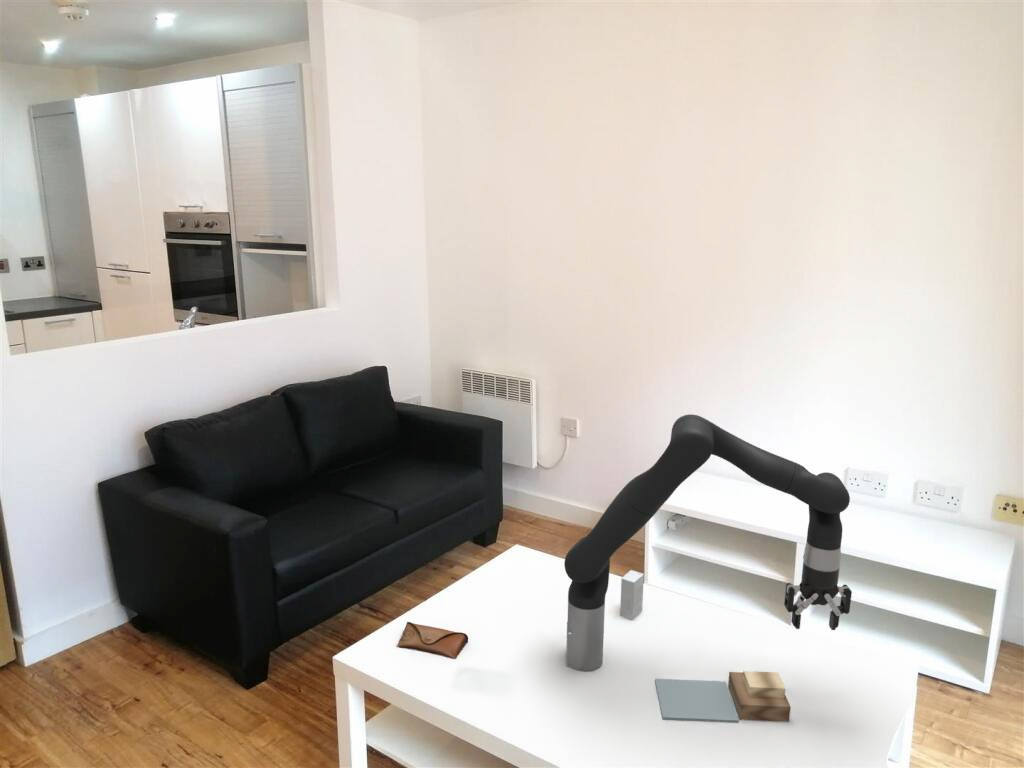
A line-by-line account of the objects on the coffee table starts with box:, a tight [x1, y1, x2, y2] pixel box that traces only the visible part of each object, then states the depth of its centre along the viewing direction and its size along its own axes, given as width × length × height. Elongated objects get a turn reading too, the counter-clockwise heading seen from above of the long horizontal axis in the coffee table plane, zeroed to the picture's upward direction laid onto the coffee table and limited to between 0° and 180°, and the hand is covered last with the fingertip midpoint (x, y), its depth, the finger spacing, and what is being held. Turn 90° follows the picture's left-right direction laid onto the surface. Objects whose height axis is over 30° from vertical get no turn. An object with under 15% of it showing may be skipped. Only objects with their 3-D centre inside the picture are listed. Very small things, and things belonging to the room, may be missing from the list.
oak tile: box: [743, 670, 786, 698], centre depth 175 cm, size 8×6×2 cm
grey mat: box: [654, 678, 740, 724], centre depth 177 cm, size 17×14×1 cm
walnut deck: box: [727, 671, 792, 723], centre depth 175 cm, size 11×12×4 cm
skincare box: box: [619, 569, 645, 621], centre depth 212 cm, size 6×4×12 cm
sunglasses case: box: [396, 621, 469, 660], centre depth 198 cm, size 18×7×7 cm
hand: (814, 627), depth 171 cm, fingers open, 7 cm apart
